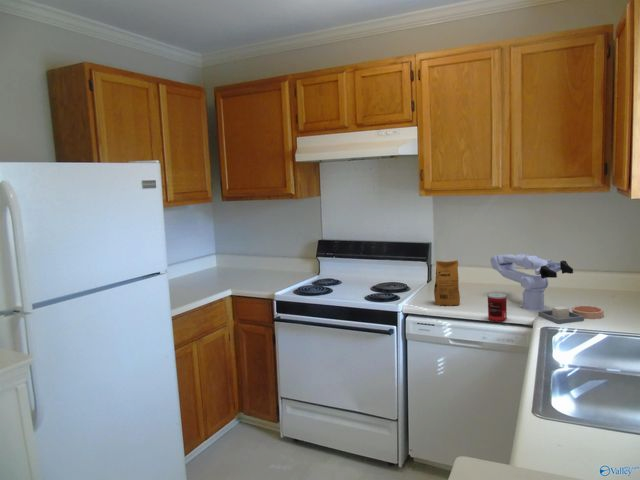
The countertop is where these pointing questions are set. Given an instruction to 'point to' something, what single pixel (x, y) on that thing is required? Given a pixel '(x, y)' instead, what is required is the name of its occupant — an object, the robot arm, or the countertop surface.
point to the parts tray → (572, 318)
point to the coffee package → (447, 283)
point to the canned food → (497, 307)
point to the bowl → (588, 312)
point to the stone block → (560, 312)
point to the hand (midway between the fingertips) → (564, 273)
